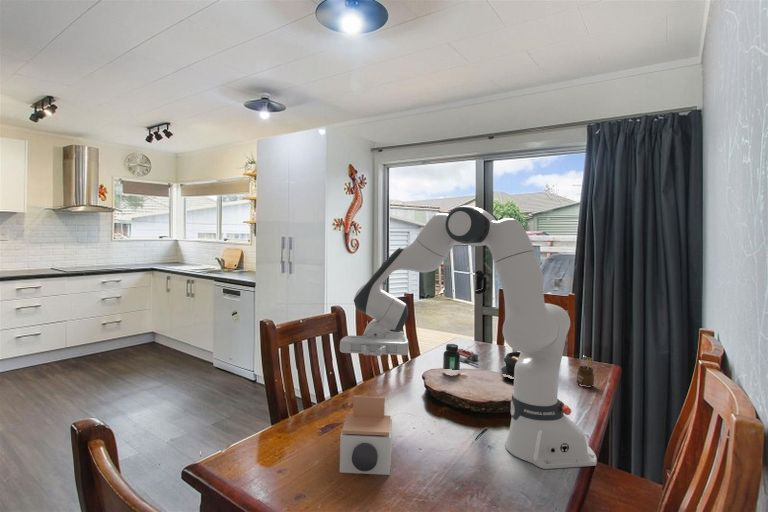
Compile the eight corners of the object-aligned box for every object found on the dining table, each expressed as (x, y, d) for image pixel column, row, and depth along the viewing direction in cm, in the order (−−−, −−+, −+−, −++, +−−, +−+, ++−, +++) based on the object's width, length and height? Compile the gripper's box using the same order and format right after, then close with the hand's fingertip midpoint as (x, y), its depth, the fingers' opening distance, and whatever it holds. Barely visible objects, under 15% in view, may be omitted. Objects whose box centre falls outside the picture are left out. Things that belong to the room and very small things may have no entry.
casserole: (537, 390, 155) (538, 368, 155) (490, 379, 167) (491, 358, 166) (556, 374, 175) (557, 354, 174) (513, 364, 186) (514, 346, 186)
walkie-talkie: (446, 356, 198) (476, 368, 181) (446, 347, 198) (476, 358, 181) (460, 354, 203) (490, 365, 186) (460, 345, 203) (491, 355, 186)
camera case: (391, 452, 108) (392, 419, 108) (389, 478, 97) (390, 441, 96) (345, 450, 109) (346, 417, 108) (338, 476, 97) (339, 438, 97)
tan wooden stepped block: (390, 418, 108) (390, 396, 107) (389, 435, 98) (389, 411, 98) (347, 416, 108) (347, 395, 108) (342, 433, 99) (342, 409, 99)
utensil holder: (589, 383, 165) (591, 353, 164) (596, 388, 158) (597, 358, 158) (574, 382, 165) (575, 352, 165) (580, 388, 159) (581, 357, 158)
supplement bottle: (454, 377, 167) (455, 348, 167) (439, 374, 171) (440, 345, 171) (462, 373, 173) (463, 345, 172) (447, 370, 177) (448, 342, 176)
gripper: (342, 329, 130) (335, 340, 116) (408, 331, 129) (409, 342, 115) (342, 349, 130) (335, 362, 116) (407, 351, 129) (408, 365, 115)
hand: (372, 352), depth 116 cm, fingers open, 2 cm apart
